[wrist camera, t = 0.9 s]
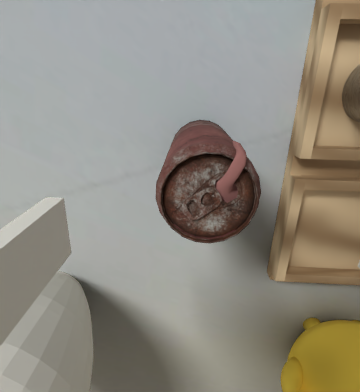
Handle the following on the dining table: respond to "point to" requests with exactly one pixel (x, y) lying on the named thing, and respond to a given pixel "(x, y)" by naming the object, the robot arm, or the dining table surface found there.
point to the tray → (322, 161)
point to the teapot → (324, 358)
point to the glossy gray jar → (352, 95)
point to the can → (207, 184)
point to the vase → (50, 342)
